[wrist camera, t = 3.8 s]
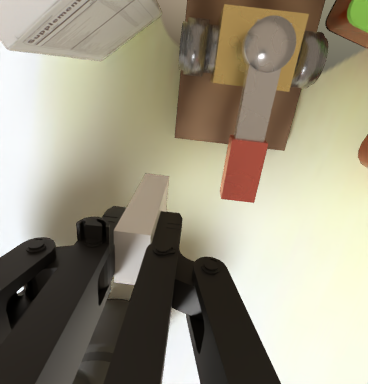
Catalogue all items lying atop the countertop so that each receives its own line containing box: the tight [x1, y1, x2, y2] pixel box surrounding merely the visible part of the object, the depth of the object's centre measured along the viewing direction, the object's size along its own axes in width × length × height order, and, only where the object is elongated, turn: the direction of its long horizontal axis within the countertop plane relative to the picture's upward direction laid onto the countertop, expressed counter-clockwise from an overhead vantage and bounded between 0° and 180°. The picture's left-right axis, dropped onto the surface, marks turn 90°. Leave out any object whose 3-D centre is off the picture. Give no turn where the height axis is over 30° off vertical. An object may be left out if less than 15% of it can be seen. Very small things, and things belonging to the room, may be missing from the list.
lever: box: [220, 15, 296, 203], centre depth 22 cm, size 14×4×2 cm, turn 174°
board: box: [175, 0, 325, 151], centre depth 30 cm, size 14×20×2 cm
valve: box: [179, 4, 328, 92], centre depth 25 cm, size 14×6×10 cm, turn 84°
